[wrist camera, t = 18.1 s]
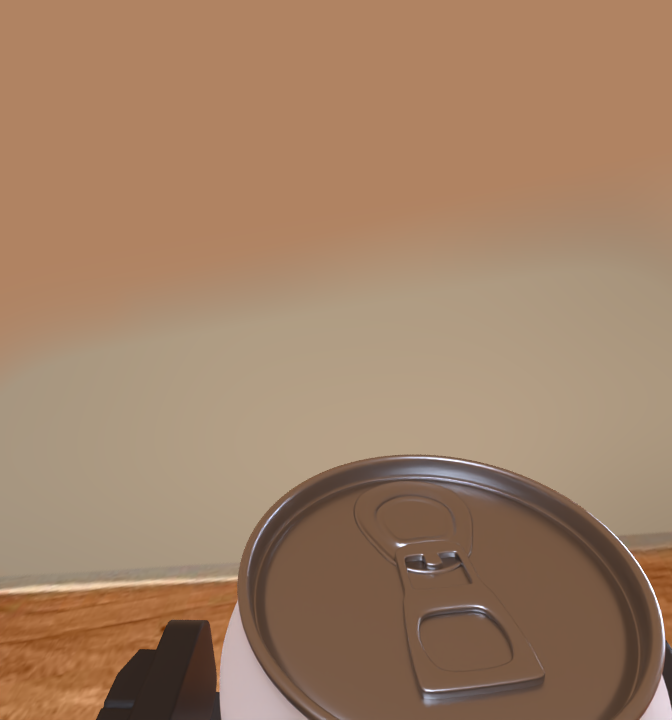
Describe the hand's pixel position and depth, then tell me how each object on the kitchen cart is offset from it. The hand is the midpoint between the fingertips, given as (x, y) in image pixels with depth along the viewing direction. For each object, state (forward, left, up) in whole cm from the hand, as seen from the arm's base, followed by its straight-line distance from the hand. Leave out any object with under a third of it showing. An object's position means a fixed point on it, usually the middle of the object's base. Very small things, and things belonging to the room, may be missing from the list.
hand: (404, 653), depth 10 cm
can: (+1, -1, -8) cm, 8 cm away
